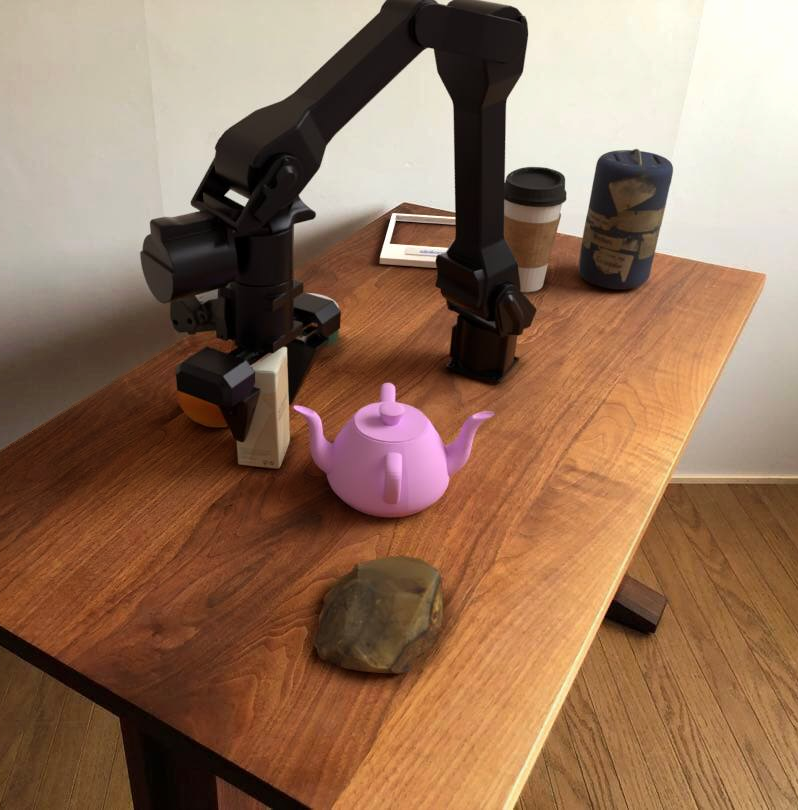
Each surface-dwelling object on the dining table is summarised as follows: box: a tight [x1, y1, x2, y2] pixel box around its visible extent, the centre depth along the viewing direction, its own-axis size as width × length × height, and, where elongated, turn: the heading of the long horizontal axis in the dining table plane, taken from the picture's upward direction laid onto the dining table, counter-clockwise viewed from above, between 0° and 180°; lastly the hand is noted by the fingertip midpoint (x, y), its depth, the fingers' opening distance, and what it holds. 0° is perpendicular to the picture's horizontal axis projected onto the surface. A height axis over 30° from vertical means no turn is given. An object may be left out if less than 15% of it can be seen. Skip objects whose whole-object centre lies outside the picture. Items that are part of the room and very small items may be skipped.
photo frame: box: [379, 212, 455, 269], centre depth 136 cm, size 15×1×18 cm
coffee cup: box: [504, 166, 568, 293], centre depth 121 cm, size 8×8×15 cm
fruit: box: [176, 389, 229, 428], centre depth 95 cm, size 8×8×8 cm
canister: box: [577, 148, 674, 290], centre depth 121 cm, size 10×10×18 cm
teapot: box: [293, 382, 495, 518], centre depth 84 cm, size 12×14×9 cm
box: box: [236, 347, 291, 469], centre depth 88 cm, size 5×4×11 cm
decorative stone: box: [313, 555, 444, 675], centre depth 70 cm, size 10×9×4 cm
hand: (264, 421), depth 89 cm, fingers closed on box, 7 cm apart
